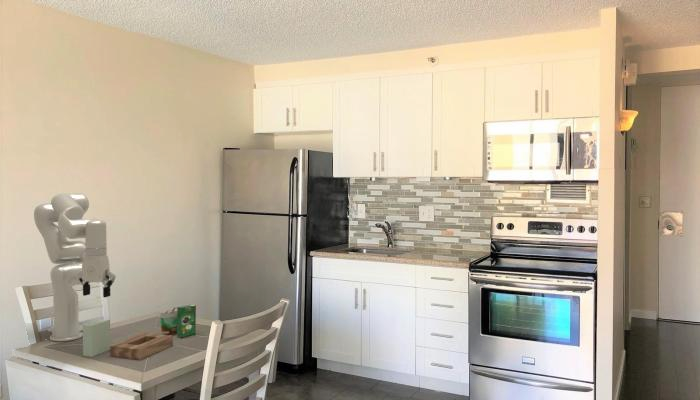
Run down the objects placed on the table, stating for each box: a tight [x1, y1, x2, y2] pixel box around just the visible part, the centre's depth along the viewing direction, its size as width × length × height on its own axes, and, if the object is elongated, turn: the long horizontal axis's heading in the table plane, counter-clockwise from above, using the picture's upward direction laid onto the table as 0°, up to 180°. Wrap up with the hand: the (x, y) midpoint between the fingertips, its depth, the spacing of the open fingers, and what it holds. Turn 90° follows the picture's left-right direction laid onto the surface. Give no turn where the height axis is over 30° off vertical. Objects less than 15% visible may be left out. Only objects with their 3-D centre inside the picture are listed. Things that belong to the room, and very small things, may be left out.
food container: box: [159, 306, 178, 336], centre depth 251 cm, size 12×6×10 cm, turn 168°
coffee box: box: [176, 304, 197, 339], centre depth 247 cm, size 8×3×13 cm, turn 139°
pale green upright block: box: [82, 318, 111, 358], centre depth 222 cm, size 4×10×12 cm, turn 162°
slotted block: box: [109, 332, 174, 361], centre depth 225 cm, size 14×20×4 cm
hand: (96, 295), depth 222 cm, fingers open, 9 cm apart
